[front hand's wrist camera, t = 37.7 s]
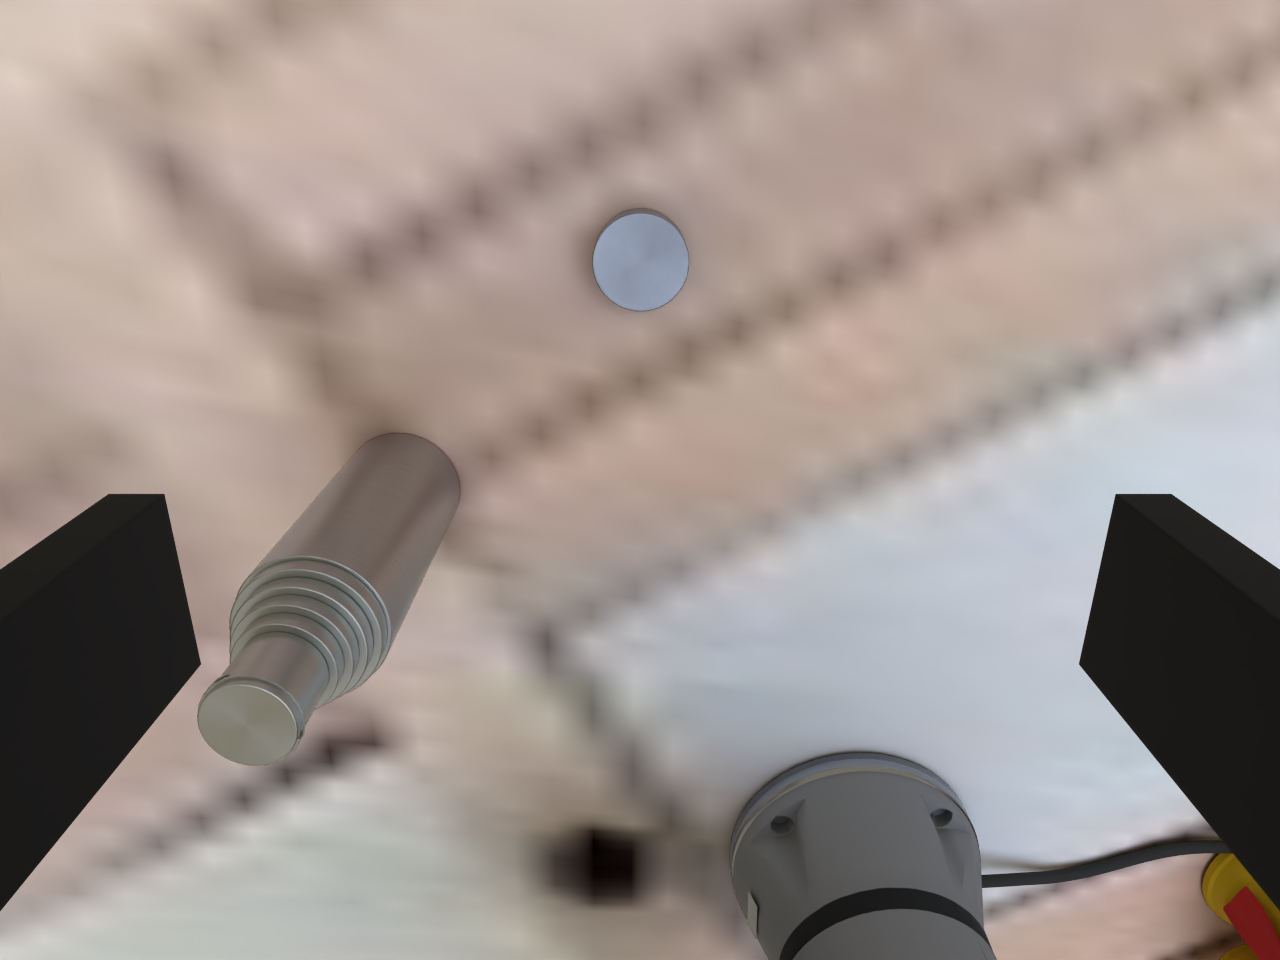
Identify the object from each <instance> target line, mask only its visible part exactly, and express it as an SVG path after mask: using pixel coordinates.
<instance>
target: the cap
mask: <svg viewBox="0 0 1280 960" xmlns="http://www.w3.org/2000/svg"><path fill="white" fill-rule="evenodd" d="M688 269H689V255H688V250H687V246H686V244H685V241H684V238H683V236H682V234H681V232H680V230H679V229H678V227H677V226H676V225H675V224H674V223H673V221H672V220H670V219H669V218H668V217H667V216H665V215H663V214H662V213H660V212H657V211H654V210H651V209H645V208H637V209H631V210H627V211H624V212H622V213H620V214H618V215H616V216H615V217H614V218H612V219H611V220H610V221H609V222H608V223H607V224H606V225H605V227H604V228H603V229H602V231H601V233H600V235H599V237H598V240H597V242H596V245H595V248H594V252H593V272H594V276H595V279H596V282H597V284H598V286H599V288H600V289H601V291H602V292H603V293H604V295H605V296H606V297H607V298H608V299H609V300H611V301H612V302H613V303H615V304H616V305H618V306H620V307H622V308H625V309H628V310H632V311H649V310H653V309H657V308H659V307H661V306H663V305H665V304H667V303H668V302H670V301H671V300H672V299H673V298H674V297H675V296H676V295H677V294H678V293H679V291H680V290H681V288H682V287H683V285H684V283H685V280H686V278H687V274H688Z"/></svg>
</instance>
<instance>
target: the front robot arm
mask: <svg viewBox="0 0 1280 960" xmlns="http://www.w3.org/2000/svg"><path fill="white" fill-rule="evenodd" d="M200 665H201V662H200V657H199V653H198V648H197V644H196V639H195V634H194V630H193V625H192V620H191V616H190V611H189V606H188V602H187V597H186V593H185V588H184V583H183V579H182V574H181V569H180V565H179V560H178V555H177V551H176V546H175V542H174V537H173V532H172V528H171V523H170V518H169V514H168V509H167V504H166V500H165V495H164V494H108V495H107V496H105V497H104V498H102V499H101V500H100V501H98V502H97V503H95V504H94V505H92V506H91V507H89V508H88V509H87V510H85V511H84V512H82V513H81V514H79V515H78V516H77V517H75V518H74V519H72V520H71V521H69V522H68V523H67V524H65V525H64V526H62V527H61V528H59V529H58V530H56V531H55V532H54V533H52V534H51V535H49V536H48V537H46V538H45V539H44V540H42V541H41V542H39V543H38V544H36V545H35V546H33V547H32V548H31V549H29V550H28V551H26V552H25V553H23V554H22V555H21V556H19V557H18V558H16V559H15V560H13V561H12V562H11V563H9V564H8V565H6V566H5V567H3V568H2V569H0V911H1V910H2V908H3V907H4V906H5V905H6V903H7V902H8V901H9V900H10V899H11V897H12V896H13V895H14V894H15V892H16V891H17V890H18V889H19V887H20V886H21V885H22V884H23V883H24V881H25V880H26V879H27V878H28V876H29V875H30V874H31V873H32V871H33V870H34V869H35V868H36V867H37V865H38V864H39V863H40V862H41V860H42V859H43V858H44V857H45V855H46V854H47V853H48V852H49V851H50V849H51V848H52V847H53V846H54V844H55V843H56V842H57V841H58V839H59V838H60V837H61V836H62V835H63V833H64V832H65V831H66V830H67V828H68V827H69V826H70V825H71V824H72V822H73V821H74V820H75V819H76V817H77V816H78V815H79V814H80V812H81V811H82V810H83V809H84V808H85V806H86V805H87V804H88V803H89V801H90V800H91V799H92V798H93V796H94V795H95V794H96V793H97V792H98V790H99V789H100V788H101V787H102V785H103V784H104V783H105V782H106V780H107V779H108V778H109V777H110V776H111V774H112V773H113V772H114V771H115V769H116V768H117V767H118V766H119V764H120V763H121V762H122V761H123V760H124V758H125V757H126V756H127V755H128V753H129V752H130V751H131V750H132V748H133V747H134V746H135V745H136V744H137V742H138V741H139V740H140V739H141V737H142V736H143V735H144V734H145V732H146V731H147V730H148V729H149V728H150V726H151V725H152V724H153V723H154V721H155V720H156V719H157V718H158V716H159V715H160V714H161V713H162V712H163V710H164V709H165V708H166V707H167V705H168V704H169V703H170V702H171V700H172V699H173V698H174V697H175V696H176V694H177V693H178V692H179V691H180V689H181V688H182V687H183V686H184V684H185V683H186V682H187V681H188V680H189V678H190V677H191V676H192V675H193V673H194V672H195V671H196V670H197V668H198V667H199V666H200ZM1079 665H1080V666H1081V667H1082V668H1083V670H1084V671H1085V672H1086V673H1087V675H1088V676H1089V677H1090V678H1091V680H1092V681H1093V682H1094V683H1095V684H1096V686H1097V687H1098V688H1099V689H1100V691H1101V692H1102V693H1103V694H1104V696H1105V697H1106V698H1107V699H1108V700H1109V702H1110V703H1111V704H1112V705H1113V707H1114V708H1115V709H1116V710H1117V712H1118V713H1119V714H1120V715H1121V716H1122V718H1123V719H1124V720H1125V721H1126V723H1127V724H1128V725H1129V726H1130V728H1131V729H1132V730H1133V731H1134V732H1135V734H1136V735H1137V736H1138V737H1139V739H1140V740H1141V741H1142V742H1143V744H1144V745H1145V746H1146V747H1147V748H1148V750H1149V751H1150V752H1151V753H1152V755H1153V756H1154V757H1155V758H1156V760H1157V761H1158V762H1159V763H1160V764H1161V766H1162V767H1163V768H1164V769H1165V771H1166V772H1167V773H1168V774H1169V776H1170V777H1171V778H1172V779H1173V780H1174V782H1175V783H1176V784H1177V785H1178V787H1179V788H1180V789H1181V790H1182V792H1183V793H1184V794H1185V795H1186V796H1187V798H1188V799H1189V800H1190V801H1191V803H1192V804H1193V805H1194V806H1195V808H1196V809H1197V810H1198V811H1199V812H1200V814H1201V815H1202V816H1203V817H1204V819H1205V820H1206V821H1207V822H1208V824H1209V825H1210V826H1211V827H1212V828H1213V830H1214V831H1215V832H1216V833H1217V835H1218V836H1219V837H1220V838H1221V839H1222V841H1186V842H1177V843H1170V844H1164V845H1159V846H1154V847H1149V848H1145V849H1141V850H1137V851H1133V852H1130V853H1126V854H1122V855H1119V856H1115V857H1112V858H1108V859H1104V860H1101V861H1097V862H1093V863H1089V864H1085V865H1080V866H1076V867H1071V868H1065V869H1059V870H1052V871H1042V872H1025V873H1009V874H992V875H981V859H980V851H979V844H978V840H977V836H976V833H975V830H974V828H973V825H972V823H971V821H970V819H969V817H968V815H967V813H966V811H965V809H964V807H963V805H962V803H961V801H960V800H959V798H958V797H957V795H956V794H955V792H954V791H953V790H952V789H951V788H950V787H949V786H948V785H947V784H946V783H945V782H944V781H943V780H942V779H941V778H939V777H938V776H936V775H935V774H934V773H932V772H931V771H929V770H927V769H925V768H924V767H922V766H919V765H917V764H915V763H913V762H910V761H907V760H904V759H901V758H897V757H893V756H888V755H881V754H872V753H850V754H839V755H834V756H828V757H824V758H820V759H816V760H813V761H810V762H807V763H804V764H802V765H800V766H797V767H795V768H793V769H791V770H789V771H787V772H785V773H783V774H782V775H780V776H779V777H777V778H775V779H774V780H773V781H771V782H770V783H769V784H767V785H766V786H765V787H764V788H763V789H761V790H760V791H759V792H758V793H757V794H756V795H755V796H754V797H753V799H752V800H751V801H750V802H749V803H748V805H747V806H746V808H745V809H744V810H743V812H742V814H741V815H740V817H739V819H738V821H737V823H736V826H735V828H734V831H733V835H732V838H731V845H730V864H731V872H732V881H733V887H734V891H735V895H736V897H737V900H738V903H739V905H740V907H741V910H742V912H743V914H744V916H745V918H746V919H747V923H748V925H749V927H750V929H751V931H752V933H753V935H754V937H755V939H756V937H757V939H758V941H759V943H760V945H761V946H762V948H763V950H764V952H765V954H766V955H767V957H768V959H769V960H997V959H996V957H995V955H994V953H993V950H992V948H991V946H990V943H989V941H988V938H987V936H986V933H985V931H984V924H983V901H982V888H989V887H1006V886H1021V885H1038V884H1050V883H1059V882H1066V881H1071V880H1077V879H1082V878H1087V877H1091V876H1095V875H1099V874H1103V873H1107V872H1111V871H1114V870H1118V869H1122V868H1125V867H1129V866H1132V865H1136V864H1140V863H1144V862H1148V861H1152V860H1156V859H1161V858H1166V857H1172V856H1178V855H1186V854H1198V853H1232V854H1234V855H1235V857H1236V858H1237V859H1238V860H1239V862H1240V863H1241V864H1242V865H1243V867H1244V868H1245V869H1246V870H1247V871H1248V873H1249V874H1250V875H1251V876H1252V878H1253V879H1254V880H1255V881H1256V883H1257V884H1258V885H1259V886H1260V887H1261V889H1262V890H1263V891H1264V892H1265V894H1266V895H1267V896H1268V897H1269V899H1270V900H1271V901H1272V902H1273V903H1274V905H1275V906H1276V907H1277V908H1278V910H1279V911H1280V569H1278V568H1277V567H1275V566H1274V565H1272V564H1271V563H1269V562H1268V561H1267V560H1265V559H1264V558H1262V557H1261V556H1259V555H1258V554H1257V553H1255V552H1254V551H1252V550H1251V549H1249V548H1248V547H1247V546H1245V545H1244V544H1242V543H1241V542H1239V541H1238V540H1236V539H1235V538H1234V537H1232V536H1231V535H1229V534H1228V533H1226V532H1225V531H1224V530H1222V529H1221V528H1219V527H1218V526H1216V525H1215V524H1213V523H1212V522H1211V521H1209V520H1208V519H1206V518H1205V517H1203V516H1202V515H1201V514H1199V513H1198V512H1196V511H1195V510H1193V509H1192V508H1191V507H1189V506H1188V505H1186V504H1185V503H1183V502H1182V501H1180V500H1179V499H1178V498H1176V497H1175V496H1173V495H1172V494H1116V495H1115V500H1114V504H1113V509H1112V514H1111V518H1110V523H1109V528H1108V532H1107V537H1106V542H1105V546H1104V551H1103V555H1102V560H1101V565H1100V569H1099V574H1098V579H1097V583H1096V588H1095V593H1094V597H1093V602H1092V606H1091V611H1090V616H1089V620H1088V625H1087V630H1086V634H1085V639H1084V644H1083V648H1082V653H1081V657H1080V662H1079Z"/></svg>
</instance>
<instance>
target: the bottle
mask: <svg viewBox="0 0 1280 960" xmlns="http://www.w3.org/2000/svg"><path fill="white" fill-rule="evenodd" d="M459 499H460V483H459V478H458V475H457V472H456V470H455V467H454V466H453V464H452V462H451V461H450V459H449V458H448V457H447V456H446V454H445V453H444V452H443V451H442V450H441V449H439V448H438V447H437V446H435V445H434V444H432V443H431V442H429V441H427V440H425V439H423V438H421V437H418V436H414V435H410V434H404V433H392V434H385V435H381V436H378V437H375V438H373V439H371V440H369V441H368V442H366V443H365V444H364V445H362V446H361V447H360V448H359V449H358V450H357V451H356V453H355V454H354V455H353V456H352V457H351V458H350V460H349V461H348V462H347V463H346V464H345V465H344V466H343V468H342V469H341V470H340V471H339V472H338V473H337V475H336V476H335V477H334V478H333V479H332V480H331V481H330V483H329V484H328V485H327V486H326V487H325V488H324V490H323V491H322V492H321V493H320V494H319V495H318V496H317V498H316V499H315V500H314V501H313V502H312V503H311V505H310V506H309V507H308V508H307V509H306V510H305V511H304V513H303V514H302V515H301V516H300V517H299V518H298V520H297V521H296V522H295V523H294V524H293V525H292V526H291V528H290V529H289V530H288V531H287V532H286V533H285V535H284V536H283V537H282V538H281V539H280V540H279V541H278V543H277V544H276V545H275V546H274V547H273V548H272V550H271V551H270V552H269V553H268V554H267V555H266V557H265V558H264V559H263V560H262V561H261V562H260V563H259V565H258V566H257V567H256V568H255V569H254V570H253V572H252V573H251V574H250V575H249V576H248V577H247V579H246V580H245V581H244V582H243V584H242V586H241V587H240V589H239V591H238V594H237V597H236V599H235V602H234V605H233V607H232V610H231V615H230V665H229V666H228V668H227V669H226V670H225V672H224V673H223V674H222V676H221V677H219V678H217V679H216V680H215V681H214V682H213V683H212V685H211V686H210V687H209V688H208V689H207V691H206V692H205V693H204V694H203V696H202V699H201V701H200V703H199V706H198V716H197V717H198V726H199V729H200V732H201V734H202V736H203V738H204V739H205V741H206V742H207V743H208V745H209V746H210V747H211V748H212V749H213V750H214V751H216V752H217V753H218V754H220V755H221V756H223V757H225V758H227V759H229V760H231V761H234V762H236V763H240V764H245V765H255V766H256V765H268V764H272V763H277V762H279V761H281V760H283V759H285V758H286V757H288V756H289V755H290V754H291V753H292V752H293V751H294V750H295V749H296V747H297V746H298V744H299V742H300V740H301V738H302V736H303V734H304V731H305V726H306V724H307V722H308V721H309V719H310V717H311V715H312V713H313V712H314V710H315V709H317V708H319V707H321V706H322V705H325V704H327V703H329V702H331V701H333V700H334V699H336V698H338V697H340V696H342V695H344V694H346V693H348V692H351V691H353V690H354V689H356V688H358V687H359V686H361V685H362V684H363V683H364V682H365V681H367V679H368V678H369V677H370V676H371V675H372V674H373V673H375V672H376V670H377V669H378V668H379V667H380V666H381V665H382V663H383V661H384V660H385V658H386V656H387V654H388V652H389V650H390V648H391V646H392V644H393V642H394V639H395V637H396V635H397V633H398V631H399V629H400V627H401V625H402V623H403V621H404V618H405V616H406V614H407V612H408V610H409V608H410V606H411V604H412V602H413V600H414V597H415V595H416V593H417V591H418V589H419V587H420V585H421V583H422V581H423V579H424V576H425V574H426V572H427V570H428V568H429V566H430V564H431V562H432V560H433V558H434V556H435V553H436V551H437V549H438V547H439V545H440V543H441V541H442V539H443V537H444V535H445V532H446V530H447V528H448V526H449V524H450V522H451V520H452V518H453V516H454V514H455V511H456V509H457V507H458V503H459Z"/></svg>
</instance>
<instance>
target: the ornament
mask: <svg viewBox="0 0 1280 960" xmlns="http://www.w3.org/2000/svg"><path fill="white" fill-rule="evenodd" d="M1202 890H1203V896H1204V898H1205V901H1206V903H1207V904H1208V905H1209V907H1210V908H1211V909H1212V910H1213V912H1214V913H1215V914H1216V915H1217V916H1219V917H1220V918H1221V919H1222V920H1224V921H1226V922H1228V923H1230V924H1231V925H1232V926H1233V927H1235V929H1236V930H1237V932H1238V933H1239V934H1240V936H1241V937H1242V939H1243V940H1244V941H1245V942H1246V944H1243V945H1240V946H1237V947H1234V948H1232V949H1231V950H1229V951H1228V952H1226V953H1225V954H1224V955H1223V956H1222V957H1221V958H1220V959H1219V960H1280V911H1279V910H1278V908H1277V907H1276V906H1275V905H1274V903H1273V902H1272V901H1271V900H1270V899H1269V897H1268V896H1267V895H1266V894H1265V892H1264V891H1263V890H1262V889H1261V887H1260V886H1259V885H1258V884H1257V883H1256V881H1255V880H1254V879H1253V878H1252V876H1251V875H1250V874H1249V873H1248V871H1247V870H1246V869H1245V868H1244V867H1243V865H1242V864H1241V863H1240V862H1239V860H1238V859H1237V858H1236V857H1235V855H1234V854H1232V853H1220V854H1219V855H1218V856H1216V858H1215V859H1214V860H1213V861H1212V863H1211V864H1210V865H1209V867H1208V869H1207V871H1206V873H1205V876H1204V879H1203V885H1202Z"/></svg>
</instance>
